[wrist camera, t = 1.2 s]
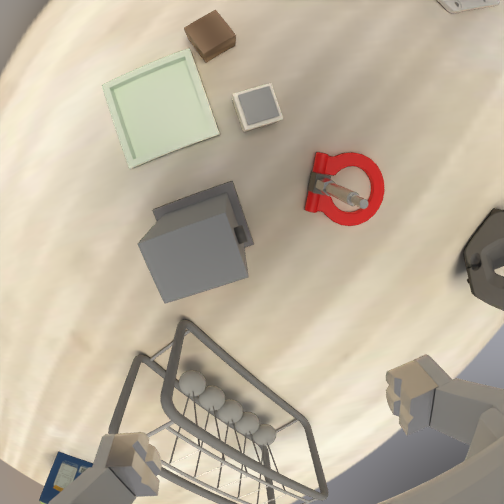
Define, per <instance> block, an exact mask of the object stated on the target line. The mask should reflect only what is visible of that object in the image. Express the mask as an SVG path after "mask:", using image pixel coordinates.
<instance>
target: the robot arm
mask: <svg viewBox="0 0 504 504" xmlns="http://www.w3.org/2000/svg"><path fill="white" fill-rule="evenodd" d="M437 1H438V2H439V3H440V4H441V5H442V6H443V7H444V8H445V9H446V10H447V11H449V12H450V13H458V12H463V11H468V10H473V9H479V8H485V7H492V6H496V5H498V4H499V3H500V0H437ZM386 381H387V383H388V384H389V386H388V388H387V389H386V398H387V402H388V405H389V407H390V410H391V411H392V413H393V414H394V415H396V416H399V424H400V426H401V427H402V429H403V430H404V432H405V433H406V435H407V436H408V435H411V434H413V433H415V432H418V431H420V430H422V429H424V428H426V427H429V426H430V427H431V428H432V429H435V430H437V431H439V432H441V433H443V434H445V435H448V436H450V437H452V438H454V439H456V440H459V441H461V442H463V443H465V444H468V445H470V448H469V451H468V454H467V456H466V459H465V461H464V462H462V463H461V464H459V465H457V466H455V467H454V468H452V469H450V470H448V471H446V472H445V473H443V474H441V475H439V476H437V477H435V478H433V479H432V480H429V481H427V482H425V483H423V484H421V485H419V486H417V487H415V488H413V489H411V490H409V491H407V492H404V493H402V494H400V495H397V496H395V497H392V498H390V499H388V500H385V501H383V502H380V503H378V504H504V389H500V388H495V387H491V386H487V385H482V384H478V383H474V382H470V381H466V380H461V379H457V378H455V379H453V380H452V379H451V378H450V376H449V375H448V374H447V373H446V372H445V371H444V370H443V369H442V368H441V367H440V366H439V365H438V364H437V363H436V362H435V361H434V360H433V359H432V358H431V357H430V356H429V355H427V354H426V355H423V356H421V357H419V358H417V359H415V360H413V361H410V362H408V363H406V364H403V365H401V366H399V367H396V368H394V369H391V370H389V371H387V373H386ZM161 465H162V464H161V458H160V455H159V452H158V451H157V449H156V448H155V447H154V446H152V445H150V444H149V438H148V436H147V435H146V434H145V433H144V432H136V433H120V434H105V435H104V436H103V437H102V439H101V442H100V445H99V448H98V451H97V454H96V457H95V460H94V463H93V466H92V467H89V468H88V469H86V470H85V471H84V472H83V473H82V474H81V475H80V476H78V477H77V478H76V479H75V480H74V481H73V482H72V483H70V484H69V485H68V486H67V487H66V488H65V489H64V490H62V491H61V492H60V493H59V494H58V495H57V496H55V497H54V498H53V499H52V500H51V501H49V503H48V504H132V503H133V501H134V500H135V499H136V497H138V496H157V495H158V489H159V479H158V478H157V477H156V476H157V475H158V474H159V472H160V471H161Z"/></svg>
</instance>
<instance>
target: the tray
mask: <svg viewBox="0 0 504 504" xmlns="http://www.w3.org/2000/svg"><path fill="white" fill-rule="evenodd" d="M102 88H103V91H104V94H105V98H106V101H107V104H108V107H109V110H110V114H111V117H112V120H113V123H114V126H115V129H116V132H117V135H118V138H119V141H120V144H121V147H122V150H123V152H124V155H125V158H126V161H127V164H128V166H129V169H131V168H134V167H137V166H139V165H141V164H144V163H146V162H149V161H151V160H154V159H156V158H159V157H161V156H164V155H166V154H169V153H171V152H174V151H176V150H179V149H182V148H184V147H187V146H190V145H192V144H195V143H198V142H201V141H203V140H206V139H209V138H212V137H215V136H218V135H220V133H219V130H218V127H217V124H216V121H215V119H214V116H213V113H212V110H211V107H210V104H209V101H208V98H207V95H206V93H205V90H204V87H203V84H202V81H201V78H200V75H199V72H198V70H197V67H196V64H195V61H194V58H193V55H192V52H191V50H190V48H188V49H185V50H182V51H179V52H177V53H174V54H171V55H169V56H166V57H164V58H161V59H159V60H156V61H154V62H151V63H149V64H146V65H144V66H142V67H139V68H137V69H135V70H133V71H130V72H128V73H126V74H124V75H122V76H119V77H117V78H115V79H113V80H111V81H109V82H107V83H105V84H103V85H102Z"/></svg>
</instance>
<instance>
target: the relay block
mask: <svg viewBox="0 0 504 504" xmlns="http://www.w3.org/2000/svg"><path fill="white" fill-rule="evenodd" d="M232 101H233V104H234V107H235V109H236V112H237V115H238V118H239V121H240V124H241V127H242V130H243V132H246V131H249V130H252V129H256V128H259V127H262V126H265V125H269V124H272V123H276V122H278V121H280V120H282V119H283V116H282V113H281V110H280V107H279V104H278V101H277V98H276V95H275V92H274V89H273V87H272V84H271V83H268V84H264V85H261V86H257V87H254V88H250V89H247V90H243V91H240V92H237V93H234V94H233V100H232Z"/></svg>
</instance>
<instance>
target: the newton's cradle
mask: <svg viewBox="0 0 504 504" xmlns="http://www.w3.org/2000/svg"><path fill="white" fill-rule="evenodd" d="M186 329H188V330H187V331H186V332H185V330H186ZM189 332H191V333H193V334H194V335H195V336H196V337H197V338H198V339H199V340H200V341H201V342H203V343H204V344H205V345H206V346H207V347H208V348H209V349H211V350H212V351H213V352H214V353H215V354H216V355H217V356H219V357H220V358H221V359H222V360H223V361H224V362H226V363H227V364H228V365H229V366H230V367H232V368H233V369H234V370H235V371H236V372H238V373H239V374H240V375H241V376H242V377H244V378H245V379H246V380H247V381H248V382H250V383H251V384H252V385H253V386H255V387H256V388H257V389H258V390H260V391H261V392H262V393H263V394H265V395H266V396H267V397H268V398H270V399H271V400H272V401H274V402H275V403H276V404H277V405H279V406H280V407H281V408H283V409H284V410H285V411H287V412H288V413H289V414H291V415H292V416H293V417H295V418H296V420H294V421H292V422H291V423H289V424H287V425H285V426H284V427H282V428H280V429H278V430H277V431H275V429H274V428H273V427H272V426H271V425H268V424H261V425H259V419H258V417H257V416H256V415H255V414H253V413H251V412H243V408H242V406H241V405H240V403H238V402H237V401H235V400H231V399H229V400H225V395H224V392H223V391H222V390H221V389H220V388H219V387H217V386H207V387H206V380H205V378H204V376H203V375H202V374H201V373H200V372H198V371H195V370H189V371H186V372H184V373H183V374H182V375H181V377H180V379H179V381H177V380H176V374H177V369H178V364H179V359H180V354H181V349H182V344H183V339H184V336H186V335H187V334H188V333H189ZM171 346H172V349H171V353H170V357H169V361H168V366H167V370H166V371H165V370H164V369H163V368H161V367H160V366H159V365H158V364H156V363H155V362H154V361H153V360H154V359H155V358H157V357H158V356H159V355H161V354H162V353H163V352H165V351H166V350H167V349H169V348H170V347H171ZM141 362H143V363H145V364H146V365H148V366H149V367H150V368H151V369H152V370H154V371H155V372H156V373H157V374H159V375H160V376H161V377H162V378H164V383H163V387H162V391H161V405H162V408H163V410H164V412H165V414H166V415H167V416H168V417H169V419H170V420H171V421H169V422H168V423H166V424H164V425H162V426H161V427H159V428H157V429H155V430H153V431H152V432H150V433H148V434H146V435H147V436H148V437H150V436H152V435H154V434H156V433H158V432H160V431H161V430H163V429H165V428H166V429H167V430H169V431H170V432H172V433H173V434H175V435H176V436H177V438H176V441H175V445H174V448H173V452H172V456H171V459H170V463H169V464H168V463H166V462H164V461H163V460H161V463H162V464H163V465H165V466H167V467H169V468H170V469H172V470H174V471H176V472H178V473H180V474H181V475H183V476H185V477H187V478H189V479H191V480H193V481H195V482H197V483H199V484H201V485H203V486H205V487H207V488H209V489H212V490H214V491H216V492H218V493H220V494H223V495H225V496H227V497H229V498H232V499H234V500H236V501H239V502H241V503H244V504H251V503H248V502H246V501H243V500H241V499H238V498H240V497H239V494H240V485H241V477H242V474H244V475H246V476H247V477H250V478H252V479H254V480H256V481H258V482H259V488H258V490H257V491H258V497H257V504H258V499H259V490H261V489H260V482H261V483H263V484H265V485H266V487H264V488H266V489H267V497H268V501H267V502H268V504H275V499H276V498H275V497H274V489H276V490H278V491H280V492H283V493H285V495H286V494H287V495H290V496H292V497H294V498H297V499H299V500H302V501H304V503H302V504H308V503H310V502H313V501H315V500H321V501H323V500H325V499H326V498H327V497H328V488H327V484H326V480H325V477H324V473H323V469H322V466H321V462H320V458H319V455H318V451H317V447H316V444H315V440H314V436H313V433H312V429H311V426H310V424H309V422H308V421H307V419H306V418H305V417H304V416H303V415H301V414H300V413H299V412H297V411H296V410H295V409H294V408H292V407H291V406H290V405H288V404H287V403H286V402H285V401H283V400H282V399H281V398H280V397H278V396H277V395H276V394H275V393H273V392H272V391H271V390H270V389H268V388H267V387H266V386H265V385H264V384H262V383H261V382H260V381H259V380H257V379H256V378H255V377H254V376H253V375H252V374H250V373H249V372H248V371H247V370H246V369H244V368H243V367H242V366H241V365H240V364H239V363H237V362H236V361H235V360H234V359H233V358H232V357H230V356H229V355H228V354H227V353H226V352H225V351H224V350H222V349H221V348H220V347H219V346H218V345H217V344H216V343H215V342H213V341H212V340H211V339H210V338H209V337H208V336H207V335H206V334H205V333H203V332H202V331H201V330H200V329H199V328H198V327H197V326H196V325H195V324H193V323H192V322H190V321H188V320H182V321H180V322H179V323H178V325H177V329H176V333H175V337H174V341H173V342H172V343H170V344H169V345H168V346H167V347H165V348H164V349H163V350H161V351H160V352H159V353H157V354H156V355H155V356H154V357H152V358H151V359H150V358H149V357H147V356H145V355H138V356H136V357H135V358H134V360H133V363H132V365H131V368H130V370H129V373H128V376H127V378H126V381H125V384H124V386H123V389H122V392H121V395H120V397H119V400H118V403H117V406H116V409H115V411H114V414H113V417H112V420H111V423H110V426H109V432H108V433H109V434H118V430H119V427H120V424H121V421H122V418H123V415H124V411H125V408H126V405H127V402H128V399H129V396H130V393H131V390H132V387H133V384H134V381H135V378H136V375H137V372H138V370H139V367H140V364H141ZM174 387H175V388H176V389H178V390H179V391H180V392H182V393H183V394H184V395H186V396H187V397H188V399H187V402H186V406H185V409H184V413H183V415H182V414H180V413H179V412H178V411H177V409H176V408H175V406H174V404H173V401H172V395H173V390H174ZM198 395H199V397H198ZM189 398H190V399H191V400H192V401H194V410H195V419H196V424H195V423H193V422H192V421H190V420H189V419H187V418H186V417H185V416H184V414H185V410H186V407H187V403H188V400H189ZM195 403H196V404H198V405H199V406H201V407H202V408H203V409H205V410H206V411H208V416H207V421H206V425H205V430H204V429H202V428H201V427H199V426H198V425H197V416H196V407H195ZM217 410H218V411H217ZM209 413H210V414H212V415H213V416H215V421H216V426H217V431H218V436H219V439H218V438H216V437H215V436H213V435H212V434H210V433H208V432H207V431H206V426H207V422H208V417H209ZM216 418H218V419H219V420H221V421H222V422H223V423H225V424H226V425H227V431H226V437H225V443H224V442H223V441H221V439H220V434H219V429H218V424H217V419H216ZM298 420H299V421H300V422H301V424H302V425H303V427H304V429H305V432H306V436H307V440H308V444H309V448H310V452H311V456H312V460H313V464H314V468H315V472H316V476H317V480H318V484H319V488H320V492H321V493H319V492H317V491H315V490H313V489H310V488H308V487H306V486H304V485H302V484H300V483H298V482H296V481H293V480H291V479H289V478H287V477H285V476H283V475H281V474H279V472H278V469H277V467H276V464H275V461H274V459H273V456H272V453H271V450H270V448H269V445H270V444H271V443H273V442H274V440H275V438H276V433H277V432H279V431H281V430H283V429H284V428H286V427H288V426H290V425H291V424H293V423H295V422H297V421H298ZM174 423H175V424H177V425H178V426H180V427H179V431H178V432H177V431H175V430H174V429H172V428H171V427H169V426H170V425H172V424H174ZM228 426H229V427H231V428H232V429H234V430H235V434H236V438H237V442H238V445H239V449H240V452H239V451H238V450H236V449H234V448H233V447H231V446H229V445H228V444H226V438H227V432H228ZM180 428H183V429H184V430H186V431H187V432H189V433H190V434H192V435H193V436H195V437H197V438H198V444H199V445H197V444H196V443H194V442H192V441H191V440H189V439H188V438H186V437H185V436H183V435H181V434H180V433H179V432H180ZM236 431H237V432H239V433H240V434H242V435H243V436H245V443H246V438H248V439H250V440H251V441H252V442H253V445H254V448H255V451H256V454H257V457H258V460H259V462H257V461H255V460H253V459H252V458H250V457H248V456H246V455H245V454H244V452H245V443H244V451H243V453H242V452H241V448H240V444H239V441H238V437H237V433H236ZM178 437H179V438H181V439H183V440H184V441H186V442H187V443H189V444H191V445H192V446H194V447H196V448H197V449H199V450H198V451H200V452H199V457H198V462H197V466H196V471H195V475H194V477H192V476H190V475H188V474H186V473H184V472H182V471H180V470H179V469H177V468H175V467H173V466H171V465H170V464H172V463H174V462H176V461H174V462H172V463H171V461H172V457H173V454H174V450H175V446H176V443H177V439H178ZM199 439H200V440H201V441H202V443H201V446H200V441H199ZM203 442H205V443H206V444H208V445H209V446H211V447H213V448H214V449H216V450H218V451H220V452H221V453H222V459H221V458H219V457H218V456H216V455H214V454H212V453H211V452H209V451H207V450H206V449H204V448H202V445H203ZM254 443H256V444H257V445H258V446H259V447H260V448H261V450H262V460H261V462H260V459H259V456H258V453H257V450H256V447H255V444H254ZM266 445H268V448H269V451H270V453H271V456H272V459H273V462H274V464H275V467H276V470H277V472H276V471H274V470H272V469H271V467H270V460H269V453H268V449H267V447H266ZM198 451H196V452H198ZM201 451H202V452H204V453H206V454H207V455H209V456H211V457H213V458H214V459H216V460H218V461H220V462H221V466H220V473H219V479H218V485H217V488H214V487H212V486H210V485H208V484H206V483H204V482H202V481H200V480H198V479H196V477H198V476H196V472H197V468H198V463H199V458H200V454H201ZM196 452H194V453H196ZM194 453H192V454H194ZM192 454H190V455H192ZM224 454H225V455H226V456H228V457H230V458H232V459H234V460H235V461H237V462H239V463H241V464H242V468H241V469H240V468H238V467H236V466H234V465H232V464H230V463H228V462H227V461H225V458H224ZM190 455H188V456H190ZM185 457H187V456H185ZM185 457H183V458H185ZM183 458H181V459H183ZM181 459H179V460H181ZM179 460H177V461H179ZM262 461H263V464H264V465H262ZM222 463H223V464H224V465H227V466H229V467H231V468H233V469H235V470H236V471H238V472H240V473H241V476H240V484H239V492H238V498H236V497H234V496H231V495H229V494H227V493H225V492H223V491H220V490H218V489H219V488H218V487H219V481H220V475H221V469H222V466H224V465H222ZM243 465H244V467H245V470H246V472H245V471H243V470H242V469H243ZM246 467H248V468H250V469H252V470H254V471H256V472H258V473H260V479H259V478H257V477H255V476H253V475H251V474H249V473H247V469H246ZM217 468H219V467H217ZM217 468H215V469H217ZM215 469H213V470H215ZM211 471H212V470H211ZM208 472H210V471H208ZM208 472H206V473H208ZM203 474H205V473H203ZM203 474H201V475H203ZM261 474H262V475H264V477H265V481H266V482H265V481H263V480H261ZM158 475H160V476H162V477H164V478H166V479H167V480H169V481H171V482H173V483H175V484H177V485H179V486H181V487H183V488H185V489H187V490H189V491H191V492H194V493H196V494H198V495H200V496H202V497H204V498H207V499H209V500H211V501H214V502H216V503H218V504H237V503H235V502H233V501H230V500H228V499H226V498H223V497H221V496H219V495H216V494H214V493H212V492H210V491H208V490H206V489H203V488H201V487H199V486H197V485H195V484H193V483H191V482H189V481H187V480H185V479H183V478H181V477H179V476H178V475H176V474H174V473H172V472H170V471H168V470H166V469H165V468H163V467H161V471H160V472H159V474H158ZM201 475H199V476H201ZM244 478H246V477H244ZM244 478H242V479H244ZM272 480H274V481H276V482H278V483H280V484H282V486H283V489H284V490H283V489H280V488H278V487H276V486H274V485H273V482H272ZM237 481H239V480H237ZM237 481H235V482H237ZM232 483H234V482H232ZM232 483H230V484H232ZM227 485H229V484H227ZM227 485H225V486H227ZM284 486H287V487H289V488H291V489H293V490H295V491H298V492H300V493H302V494H305V495H307V496H309V497H312V498H314V499H312V500H306V499H304V498H301V497H299V496H296V495H294V494H292V493H289V492H287V491H286V490H285V488H284ZM222 487H224V486H222ZM222 487H220V488H222ZM273 488H274V489H273ZM262 489H263V488H262ZM254 492H256V491H254ZM252 493H253V492H252ZM249 494H251V493H249ZM247 495H248V494H247ZM244 496H246V495H244ZM282 496H284V495H282ZM241 497H243V496H241ZM280 497H281V496H280ZM277 498H279V497H277ZM265 503H266V502H265ZM262 504H264V503H262Z"/></svg>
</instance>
